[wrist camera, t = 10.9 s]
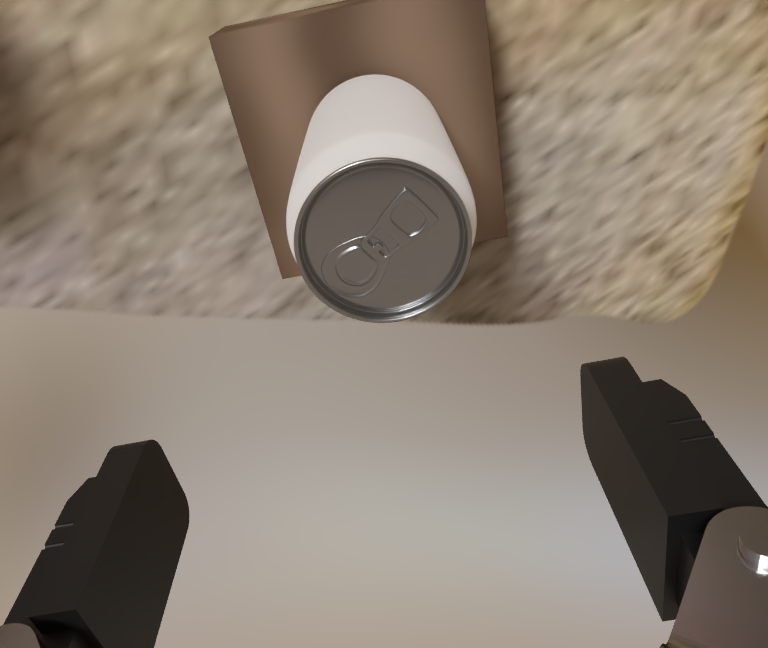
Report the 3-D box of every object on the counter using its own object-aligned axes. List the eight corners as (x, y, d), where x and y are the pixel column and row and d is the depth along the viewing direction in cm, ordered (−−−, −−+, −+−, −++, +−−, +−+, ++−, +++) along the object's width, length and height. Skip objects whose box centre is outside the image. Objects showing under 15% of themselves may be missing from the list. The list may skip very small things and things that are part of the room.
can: (278, 146, 30) (236, 251, 20) (372, 39, 28) (380, 94, 18) (377, 233, 33) (385, 367, 22) (471, 141, 30) (528, 242, 20)
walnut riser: (468, -26, 30) (482, -22, 27) (493, 208, 36) (507, 236, 33) (224, 26, 31) (208, 37, 28) (289, 248, 37) (282, 278, 34)
